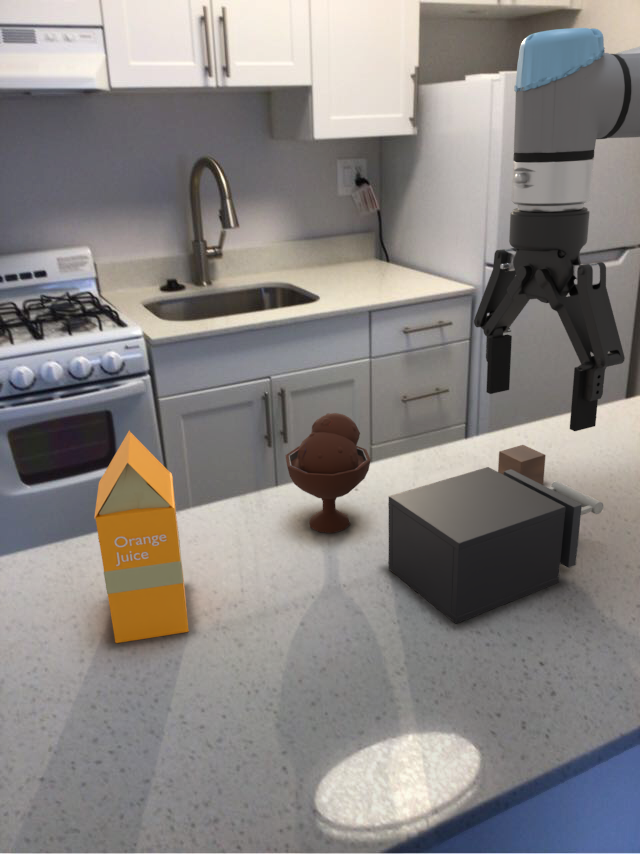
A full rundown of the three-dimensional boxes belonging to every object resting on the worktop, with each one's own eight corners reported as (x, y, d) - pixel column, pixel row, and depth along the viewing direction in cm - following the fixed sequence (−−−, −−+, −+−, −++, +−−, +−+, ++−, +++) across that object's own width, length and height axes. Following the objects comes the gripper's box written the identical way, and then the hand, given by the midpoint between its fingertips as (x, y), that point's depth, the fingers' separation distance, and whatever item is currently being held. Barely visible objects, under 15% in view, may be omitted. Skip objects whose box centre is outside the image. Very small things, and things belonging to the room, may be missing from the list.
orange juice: (185, 586, 87) (167, 424, 80) (190, 632, 79) (169, 457, 72) (116, 596, 86) (90, 433, 78) (113, 644, 78) (84, 466, 70)
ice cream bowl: (297, 501, 106) (293, 401, 101) (376, 507, 104) (376, 404, 98) (278, 539, 97) (272, 430, 91) (365, 546, 94) (363, 434, 89)
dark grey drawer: (544, 512, 99) (548, 457, 96) (614, 550, 90) (621, 491, 87) (421, 554, 90) (422, 495, 87) (484, 601, 81) (488, 537, 78)
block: (521, 472, 113) (522, 444, 111) (543, 484, 109) (545, 454, 107) (497, 480, 111) (498, 451, 109) (519, 491, 107) (521, 462, 105)
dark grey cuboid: (484, 535, 96) (488, 466, 92) (558, 582, 85) (565, 506, 82) (388, 568, 89) (388, 495, 86) (456, 624, 79) (459, 543, 75)
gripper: (445, 201, 84) (443, 383, 91) (618, 219, 63) (595, 454, 70) (500, 196, 87) (493, 373, 94) (683, 211, 65) (654, 438, 73)
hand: (537, 408), depth 82 cm, fingers open, 13 cm apart
